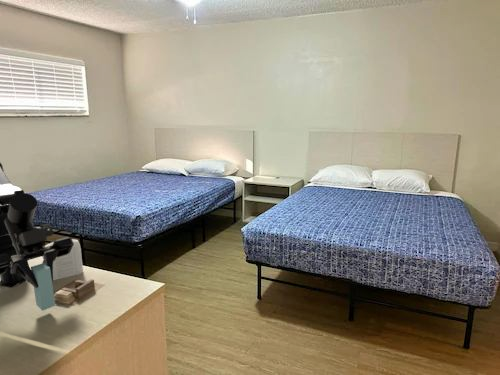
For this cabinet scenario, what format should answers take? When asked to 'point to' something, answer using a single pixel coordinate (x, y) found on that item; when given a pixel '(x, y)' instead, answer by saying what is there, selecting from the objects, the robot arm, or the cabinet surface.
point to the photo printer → (68, 262)
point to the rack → (76, 291)
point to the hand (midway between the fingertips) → (44, 284)
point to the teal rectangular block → (43, 286)
